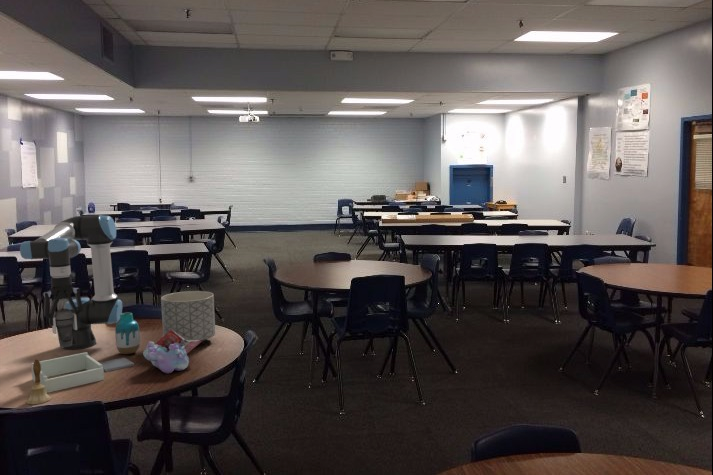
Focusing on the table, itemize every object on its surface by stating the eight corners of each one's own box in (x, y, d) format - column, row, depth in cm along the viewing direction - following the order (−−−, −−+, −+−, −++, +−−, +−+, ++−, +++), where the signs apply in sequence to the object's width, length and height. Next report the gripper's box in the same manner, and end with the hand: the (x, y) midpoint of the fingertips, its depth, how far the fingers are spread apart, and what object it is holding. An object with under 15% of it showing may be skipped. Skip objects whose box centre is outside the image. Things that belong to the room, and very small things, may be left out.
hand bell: (44, 394, 231) (41, 354, 229) (55, 399, 226) (52, 358, 224) (22, 401, 224) (18, 360, 222) (33, 406, 219) (30, 364, 218)
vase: (132, 357, 277) (130, 316, 274) (111, 356, 279) (109, 316, 277) (145, 350, 287) (142, 311, 285) (125, 349, 289) (122, 310, 287)
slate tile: (96, 365, 266) (96, 363, 266) (124, 359, 274) (124, 357, 273) (106, 371, 257) (106, 369, 257) (134, 365, 265) (133, 363, 264)
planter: (187, 334, 315) (185, 289, 313) (225, 339, 304) (223, 293, 302) (152, 346, 293) (149, 298, 290) (192, 352, 282) (190, 303, 279)
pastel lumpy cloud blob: (135, 367, 247) (157, 330, 247) (141, 350, 268) (161, 316, 268) (180, 387, 253) (201, 351, 253) (182, 369, 274) (202, 335, 274)
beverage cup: (60, 343, 250) (56, 296, 247) (78, 342, 250) (75, 295, 248) (53, 348, 243) (49, 300, 240) (71, 347, 243) (68, 299, 241)
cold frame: (32, 379, 248) (31, 363, 248) (87, 367, 263) (86, 352, 262) (45, 393, 233) (44, 375, 232) (104, 379, 247) (103, 363, 246)
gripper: (35, 280, 234) (40, 337, 236) (89, 274, 247) (93, 328, 250) (31, 278, 239) (35, 334, 242) (84, 271, 252) (87, 324, 255)
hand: (65, 331), depth 246 cm, fingers closed on beverage cup, 7 cm apart
